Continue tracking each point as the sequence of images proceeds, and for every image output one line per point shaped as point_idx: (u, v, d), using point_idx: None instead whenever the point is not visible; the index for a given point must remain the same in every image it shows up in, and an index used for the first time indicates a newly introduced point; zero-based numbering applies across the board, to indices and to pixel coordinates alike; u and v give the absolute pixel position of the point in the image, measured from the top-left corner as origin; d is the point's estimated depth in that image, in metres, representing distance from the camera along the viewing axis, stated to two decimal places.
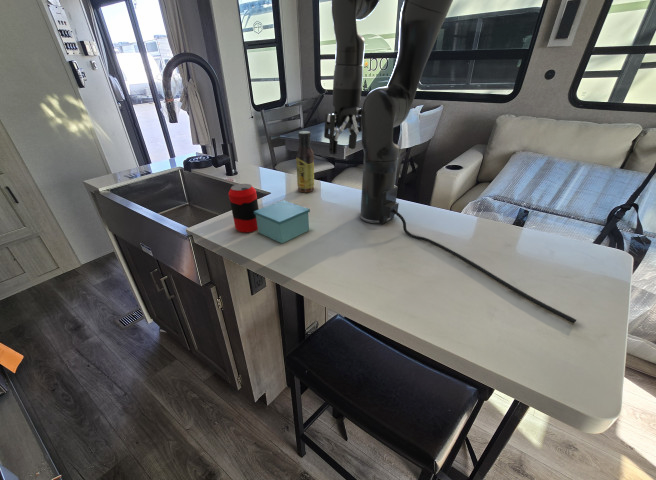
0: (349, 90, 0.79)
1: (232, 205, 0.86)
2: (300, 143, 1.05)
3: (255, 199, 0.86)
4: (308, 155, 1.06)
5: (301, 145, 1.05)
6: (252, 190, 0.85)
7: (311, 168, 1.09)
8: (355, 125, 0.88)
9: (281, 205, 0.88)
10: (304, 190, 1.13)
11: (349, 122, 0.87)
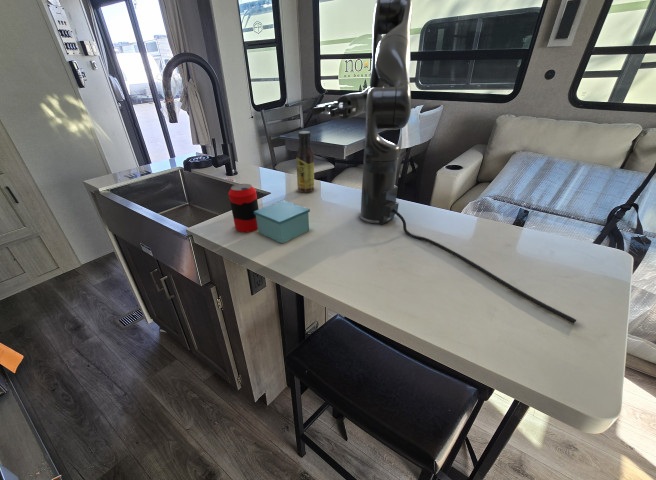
0: None
1: (232, 205, 0.86)
2: (300, 143, 1.05)
3: (255, 199, 0.86)
4: (308, 155, 1.06)
5: (301, 145, 1.05)
6: (252, 190, 0.85)
7: (311, 168, 1.09)
8: (340, 104, 1.08)
9: (281, 205, 0.88)
10: (304, 190, 1.13)
11: (337, 105, 1.10)
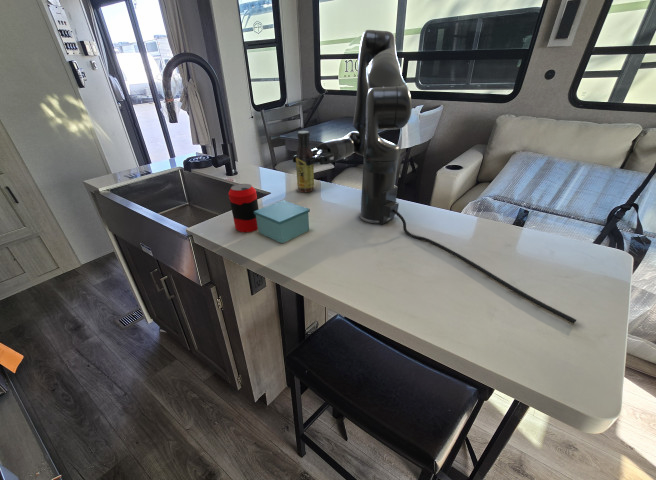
0: None
1: (232, 205, 0.86)
2: (299, 143, 1.05)
3: (255, 199, 0.86)
4: (308, 155, 1.06)
5: (301, 145, 1.05)
6: (252, 190, 0.85)
7: (311, 168, 1.09)
8: (318, 152, 1.10)
9: (281, 205, 0.88)
10: (304, 190, 1.13)
11: (317, 153, 1.12)
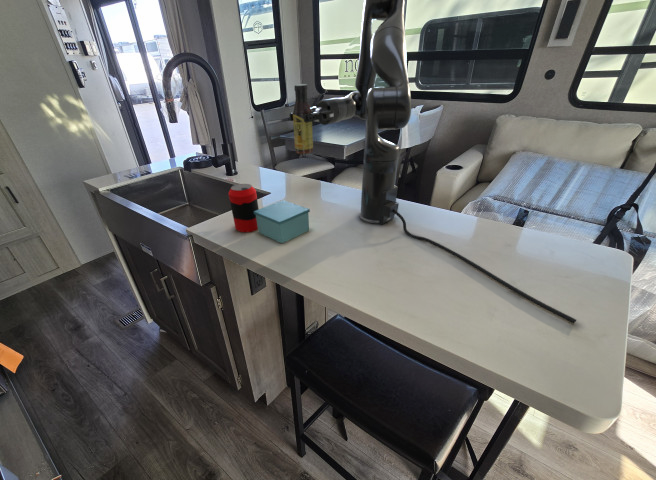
0: None
1: (232, 205, 0.86)
2: (296, 97, 0.97)
3: (255, 199, 0.86)
4: (306, 111, 0.98)
5: (298, 100, 0.97)
6: (252, 190, 0.85)
7: (309, 126, 1.01)
8: (317, 109, 1.02)
9: (281, 205, 0.88)
10: (302, 151, 1.05)
11: None
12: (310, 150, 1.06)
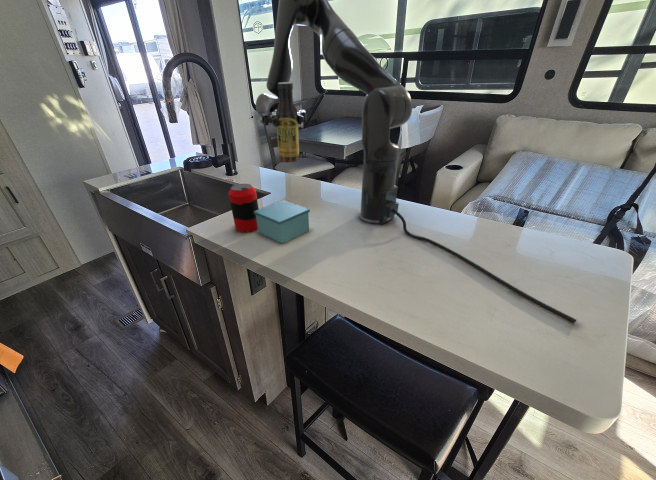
0: (270, 103, 0.97)
1: (232, 205, 0.86)
2: (286, 97, 0.84)
3: (255, 199, 0.86)
4: None
5: (289, 100, 0.84)
6: (252, 190, 0.85)
7: None
8: None
9: (281, 205, 0.88)
10: (296, 158, 0.93)
11: None
12: None
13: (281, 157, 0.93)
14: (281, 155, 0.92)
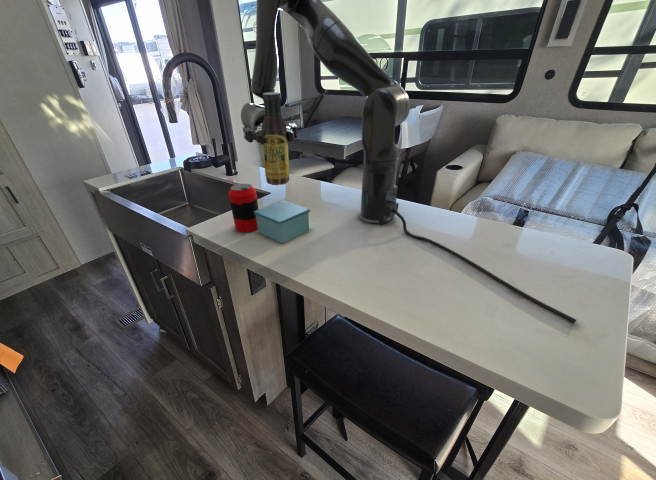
0: (255, 115, 0.83)
1: (232, 205, 0.86)
2: (272, 111, 0.70)
3: (255, 199, 0.86)
4: (286, 127, 0.73)
5: (276, 114, 0.70)
6: (252, 190, 0.85)
7: None
8: None
9: (281, 205, 0.88)
10: (285, 180, 0.79)
11: None
12: None
13: (268, 179, 0.79)
14: (268, 177, 0.79)
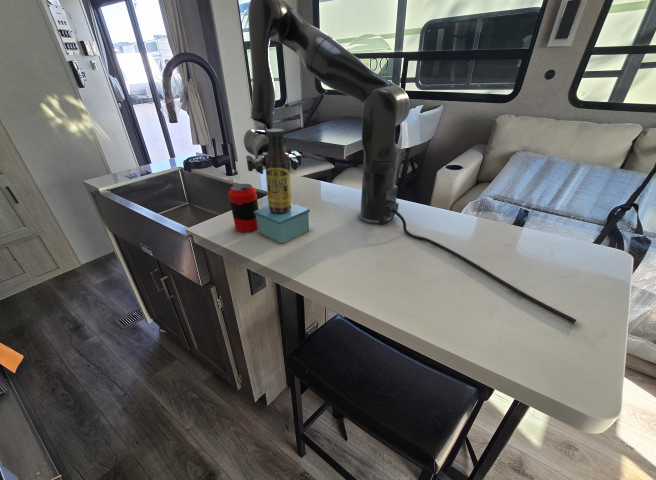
0: (258, 144, 0.87)
1: (232, 205, 0.86)
2: (276, 146, 0.74)
3: (255, 199, 0.86)
4: None
5: (279, 149, 0.75)
6: (252, 190, 0.85)
7: None
8: None
9: None
10: (287, 209, 0.83)
11: None
12: None
13: (271, 207, 0.83)
14: (271, 206, 0.82)
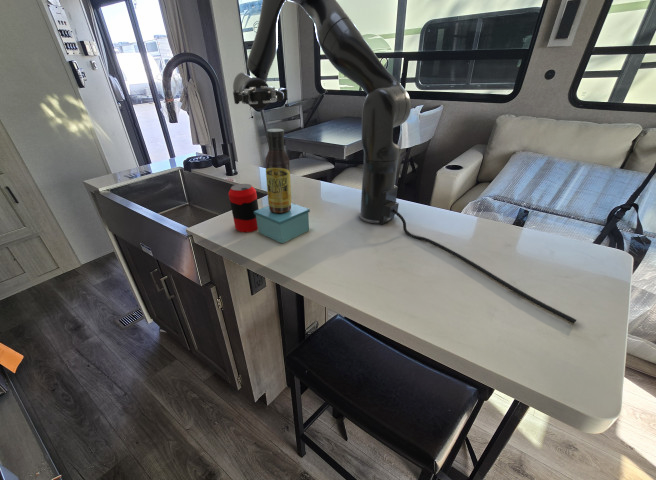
0: (245, 82, 0.88)
1: (232, 205, 0.86)
2: (276, 146, 0.74)
3: (255, 199, 0.86)
4: None
5: (280, 149, 0.75)
6: (252, 190, 0.85)
7: None
8: (269, 87, 0.82)
9: None
10: (287, 209, 0.83)
11: (261, 90, 0.83)
12: None
13: (271, 207, 0.83)
14: (271, 206, 0.82)
